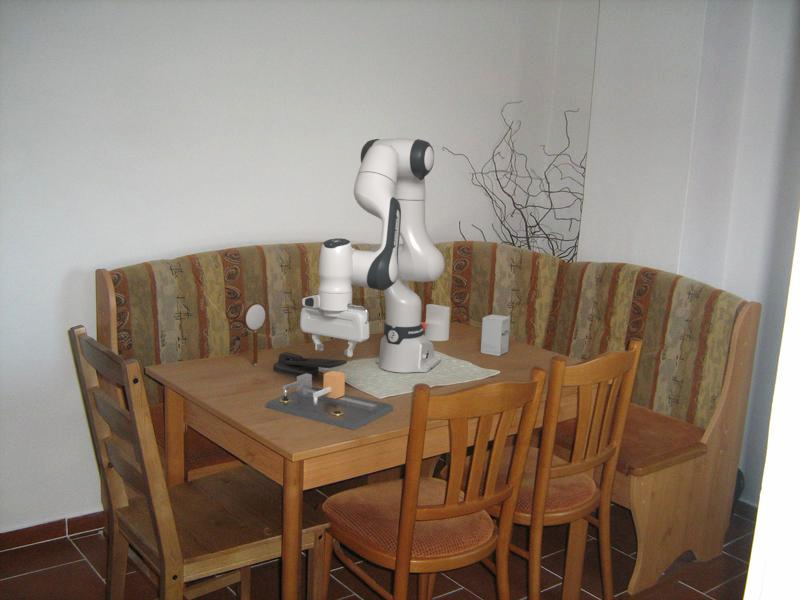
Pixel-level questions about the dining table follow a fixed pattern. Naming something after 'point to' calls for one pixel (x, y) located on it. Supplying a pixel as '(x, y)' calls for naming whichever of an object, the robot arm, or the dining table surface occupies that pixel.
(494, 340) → the supplement box
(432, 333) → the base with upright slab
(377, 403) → the plate
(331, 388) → the leg
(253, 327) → the magnifying glass
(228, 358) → the dining table surface
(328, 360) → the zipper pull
